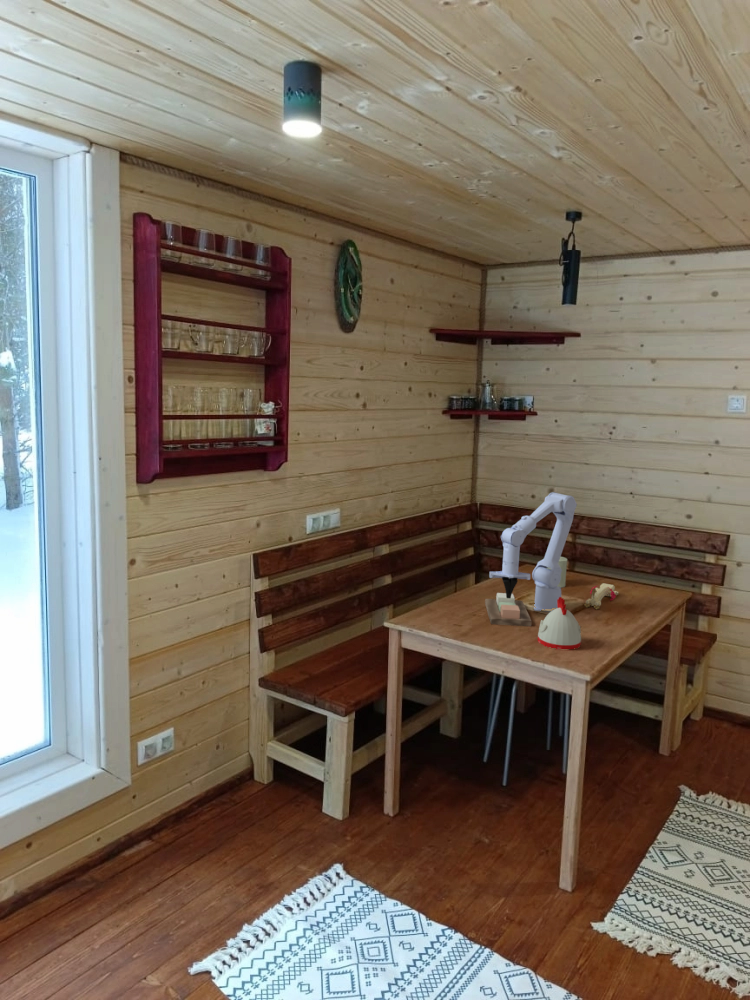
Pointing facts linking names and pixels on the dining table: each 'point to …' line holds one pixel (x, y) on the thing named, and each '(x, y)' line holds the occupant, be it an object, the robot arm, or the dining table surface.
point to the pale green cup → (563, 566)
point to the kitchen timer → (560, 629)
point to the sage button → (504, 604)
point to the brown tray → (497, 619)
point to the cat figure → (600, 595)
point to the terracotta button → (510, 611)
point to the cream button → (504, 598)
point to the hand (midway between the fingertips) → (508, 597)
